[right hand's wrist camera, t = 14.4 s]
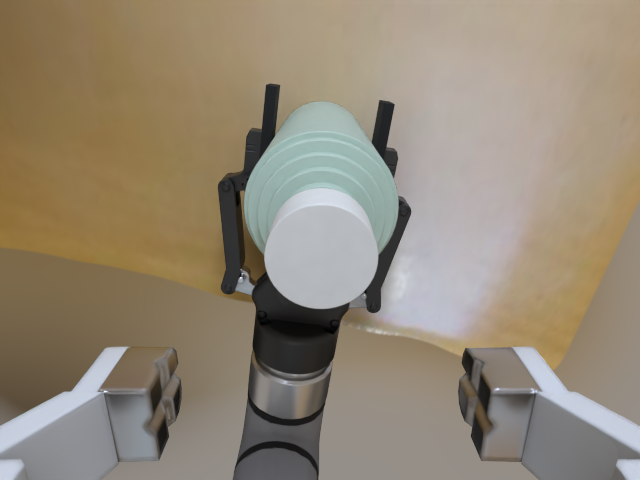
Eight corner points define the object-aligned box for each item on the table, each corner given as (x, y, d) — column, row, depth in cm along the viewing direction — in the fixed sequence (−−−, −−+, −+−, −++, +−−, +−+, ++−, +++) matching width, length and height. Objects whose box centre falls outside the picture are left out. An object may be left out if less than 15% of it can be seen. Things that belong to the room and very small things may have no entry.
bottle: (364, 99, 39) (429, 149, 15) (363, 186, 42) (418, 339, 18) (275, 102, 39) (207, 156, 16) (280, 188, 42) (230, 344, 18)
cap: (372, 186, 18) (379, 202, 16) (371, 280, 19) (377, 307, 17) (267, 189, 18) (259, 206, 16) (274, 283, 19) (268, 310, 17)
